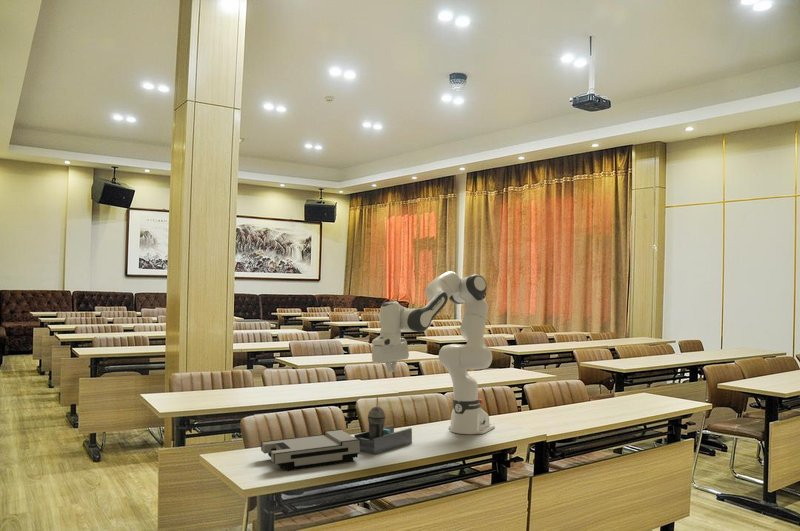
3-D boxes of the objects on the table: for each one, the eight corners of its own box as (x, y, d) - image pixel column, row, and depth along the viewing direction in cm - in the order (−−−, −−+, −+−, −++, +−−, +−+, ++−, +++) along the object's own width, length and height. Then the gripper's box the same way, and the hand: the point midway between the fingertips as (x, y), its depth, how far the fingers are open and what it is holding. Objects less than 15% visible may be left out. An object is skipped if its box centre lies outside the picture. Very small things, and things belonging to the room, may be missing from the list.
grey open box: (392, 438, 258) (392, 424, 259) (411, 442, 251) (411, 428, 251) (354, 449, 241) (354, 434, 241) (374, 454, 234) (374, 438, 234)
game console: (261, 460, 228) (261, 438, 229) (340, 449, 242) (340, 429, 243) (274, 474, 210) (274, 450, 210) (359, 462, 224) (359, 440, 224)
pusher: (375, 441, 248) (375, 427, 249) (390, 444, 243) (390, 429, 243) (373, 442, 247) (373, 427, 248) (388, 445, 242) (388, 430, 242)
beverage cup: (384, 445, 245) (386, 395, 247) (384, 448, 238) (386, 397, 240) (366, 444, 244) (368, 394, 247) (366, 447, 237) (368, 396, 240)
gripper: (400, 337, 267) (401, 368, 266) (369, 341, 251) (369, 374, 251) (411, 337, 263) (412, 369, 262) (380, 341, 247) (381, 375, 247)
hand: (391, 371), depth 256 cm, fingers closed
